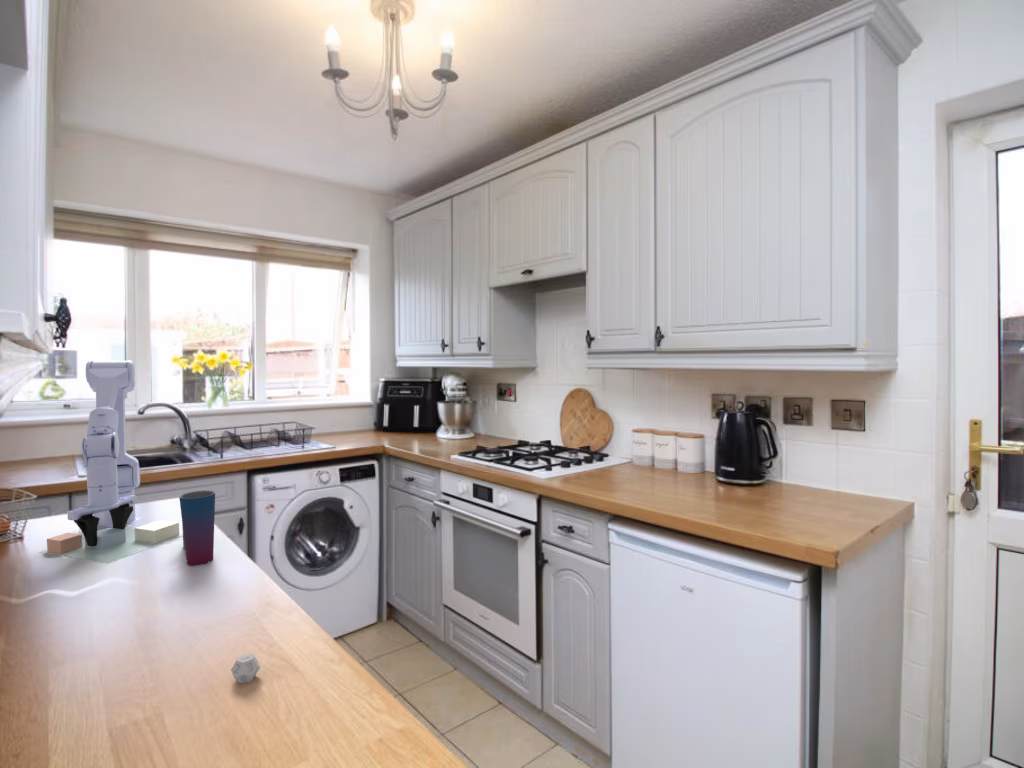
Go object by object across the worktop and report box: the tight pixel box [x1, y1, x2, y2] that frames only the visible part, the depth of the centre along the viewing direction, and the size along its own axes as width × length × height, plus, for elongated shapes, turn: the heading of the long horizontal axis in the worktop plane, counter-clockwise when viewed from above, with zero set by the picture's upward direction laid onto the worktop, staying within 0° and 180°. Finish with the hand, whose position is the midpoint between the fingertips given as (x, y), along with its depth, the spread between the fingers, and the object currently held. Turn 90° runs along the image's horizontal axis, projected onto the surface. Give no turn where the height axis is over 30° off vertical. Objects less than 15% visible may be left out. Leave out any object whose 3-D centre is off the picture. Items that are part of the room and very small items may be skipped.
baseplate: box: [39, 526, 183, 564], centre depth 128 cm, size 22×19×1 cm
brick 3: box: [133, 519, 180, 543], centre depth 132 cm, size 6×6×3 cm
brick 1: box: [46, 532, 83, 554], centre depth 124 cm, size 4×4×3 cm
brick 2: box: [85, 527, 126, 550], centre depth 127 cm, size 6×6×3 cm
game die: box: [230, 653, 261, 684], centre depth 75 cm, size 4×4×3 cm
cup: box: [179, 489, 216, 567], centre depth 118 cm, size 7×7×15 cm
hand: (105, 541), depth 127 cm, fingers closed on brick 2, 5 cm apart
